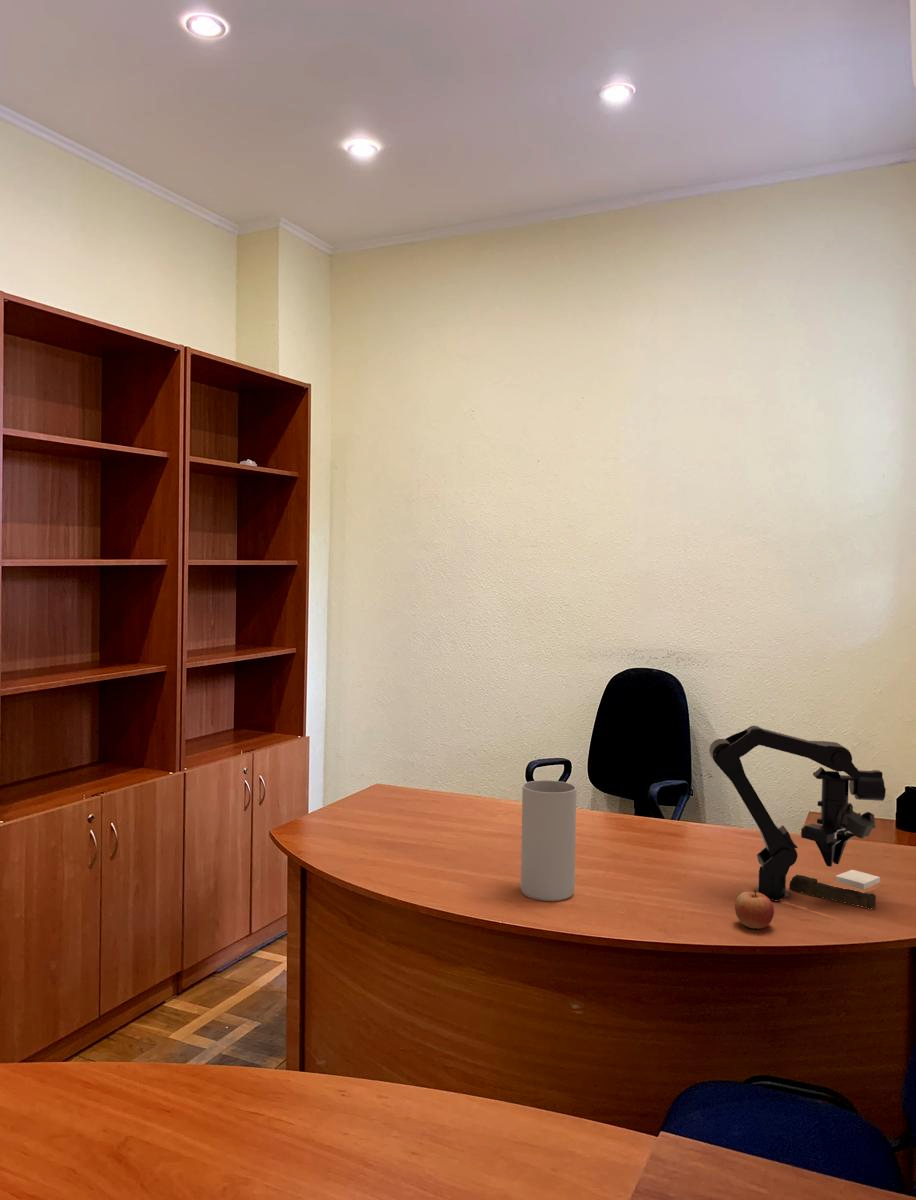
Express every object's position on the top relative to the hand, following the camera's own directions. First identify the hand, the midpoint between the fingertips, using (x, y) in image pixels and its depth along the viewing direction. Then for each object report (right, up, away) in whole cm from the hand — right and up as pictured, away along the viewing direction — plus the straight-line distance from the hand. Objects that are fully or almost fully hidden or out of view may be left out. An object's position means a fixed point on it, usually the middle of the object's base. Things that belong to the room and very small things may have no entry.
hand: (832, 865), depth 210 cm
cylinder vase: (-66, -7, +2) cm, 66 cm away
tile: (+7, -7, +7) cm, 12 cm away
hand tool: (-1, -9, -1) cm, 9 cm away
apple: (-24, -8, -17) cm, 30 cm away
